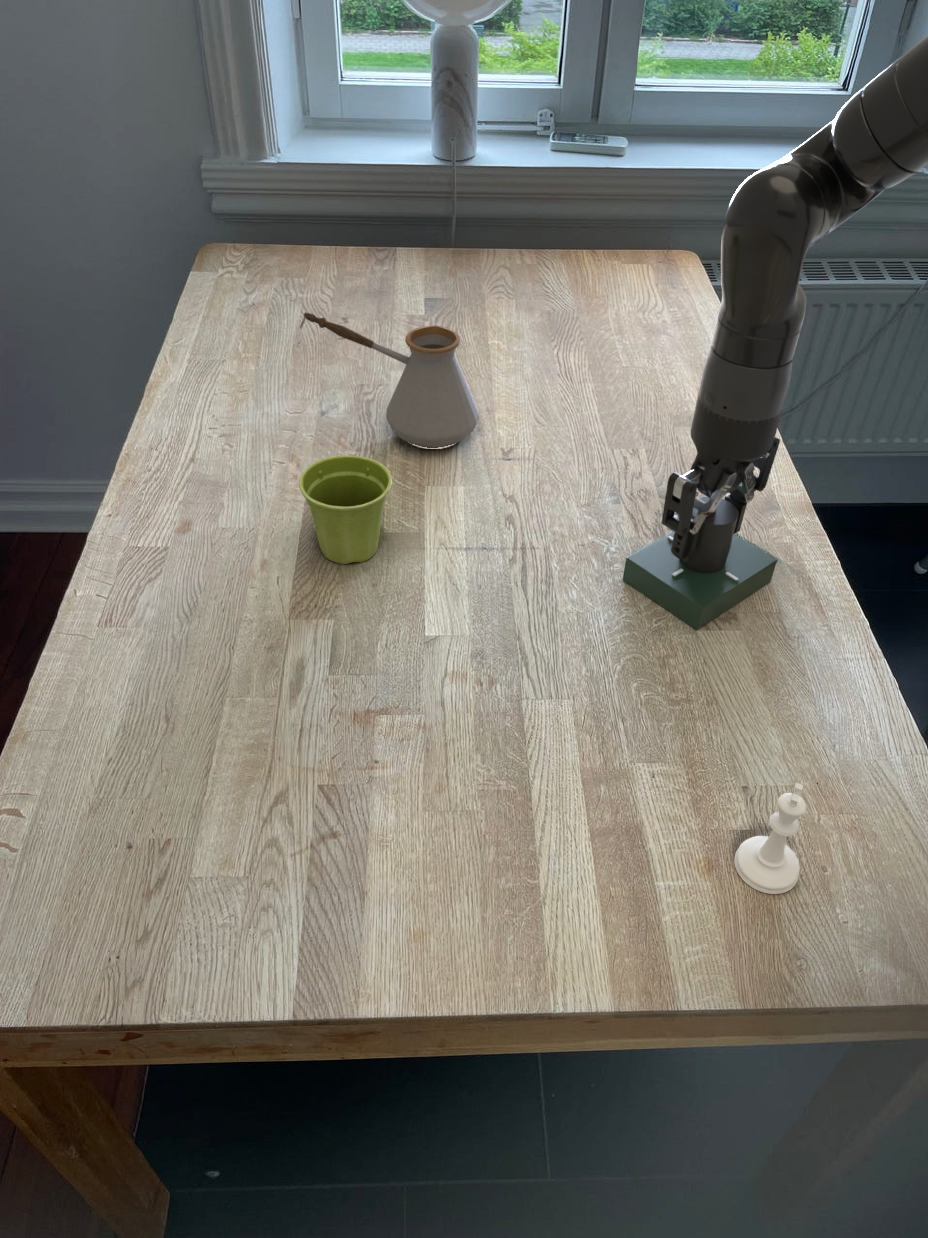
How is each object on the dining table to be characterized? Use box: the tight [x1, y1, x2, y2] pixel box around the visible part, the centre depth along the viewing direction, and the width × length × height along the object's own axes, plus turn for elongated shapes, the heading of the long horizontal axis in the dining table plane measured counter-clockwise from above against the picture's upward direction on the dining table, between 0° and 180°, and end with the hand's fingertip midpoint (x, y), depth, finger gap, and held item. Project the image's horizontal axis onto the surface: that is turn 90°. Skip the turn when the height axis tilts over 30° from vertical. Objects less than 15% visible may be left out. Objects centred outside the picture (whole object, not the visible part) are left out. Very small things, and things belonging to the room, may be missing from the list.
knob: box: [680, 496, 738, 573], centre depth 97 cm, size 5×5×6 cm
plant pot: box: [298, 454, 393, 565], centre depth 101 cm, size 9×9×9 cm
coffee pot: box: [299, 311, 480, 448], centre depth 117 cm, size 21×12×15 cm, turn 85°
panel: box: [622, 530, 778, 631], centre depth 100 cm, size 12×10×3 cm
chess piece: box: [733, 782, 807, 895], centre depth 72 cm, size 5×5×10 cm
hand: (705, 542), depth 98 cm, fingers open, 7 cm apart
